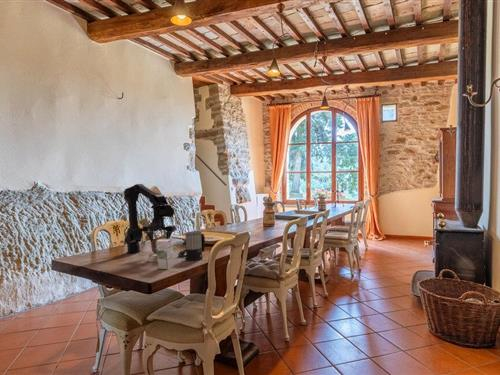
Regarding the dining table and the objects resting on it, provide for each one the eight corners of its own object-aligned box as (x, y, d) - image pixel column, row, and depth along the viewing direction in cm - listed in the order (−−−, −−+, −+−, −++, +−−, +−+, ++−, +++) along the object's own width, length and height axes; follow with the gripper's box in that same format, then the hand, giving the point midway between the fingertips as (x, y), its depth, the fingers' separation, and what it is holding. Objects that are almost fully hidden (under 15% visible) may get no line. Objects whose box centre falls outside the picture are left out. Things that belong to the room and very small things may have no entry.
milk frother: (199, 261, 188) (198, 234, 187) (171, 260, 191) (170, 234, 190) (207, 255, 202) (206, 229, 201) (181, 255, 205) (180, 229, 204)
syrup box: (172, 266, 178) (171, 238, 178) (167, 269, 172) (166, 240, 172) (162, 266, 179) (161, 238, 179) (157, 269, 173) (155, 240, 173)
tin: (155, 254, 192) (155, 239, 192) (150, 254, 193) (149, 239, 193) (168, 248, 207) (167, 234, 207) (163, 248, 208) (162, 234, 208)
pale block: (148, 263, 190) (148, 255, 190) (156, 254, 210) (155, 248, 210) (167, 262, 191) (167, 255, 191) (172, 254, 211) (172, 247, 211)
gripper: (136, 218, 194) (137, 246, 194) (167, 218, 190) (168, 246, 190) (146, 215, 204) (147, 242, 205) (176, 215, 200) (177, 242, 201)
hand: (159, 243), depth 200 cm, fingers open, 9 cm apart
